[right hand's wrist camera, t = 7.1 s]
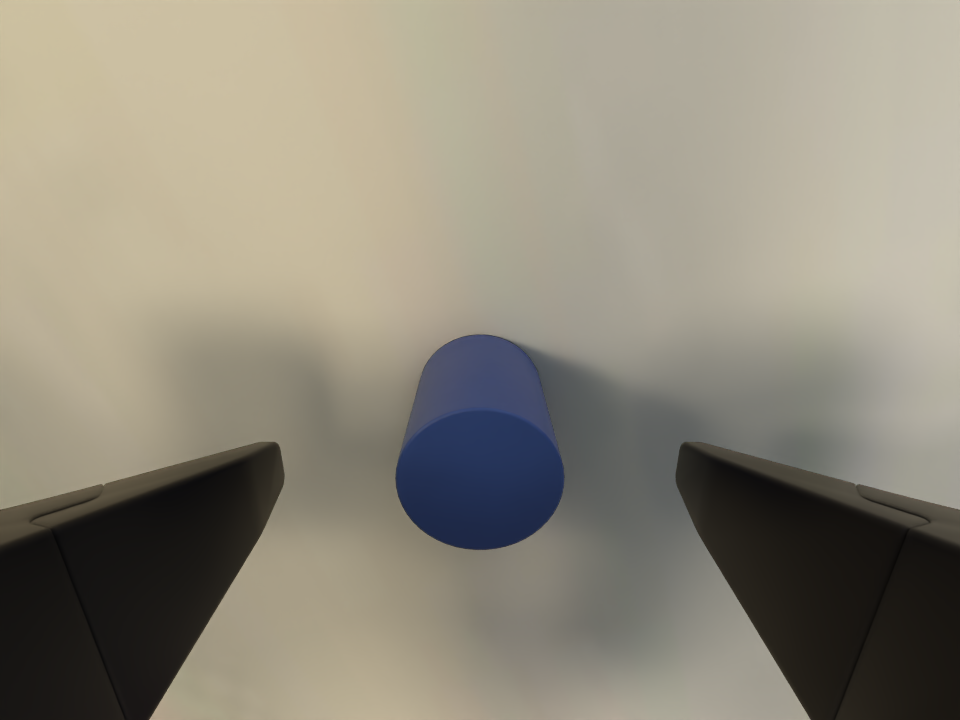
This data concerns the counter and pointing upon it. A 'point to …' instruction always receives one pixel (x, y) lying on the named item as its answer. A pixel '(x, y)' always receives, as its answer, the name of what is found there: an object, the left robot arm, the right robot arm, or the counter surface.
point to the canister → (479, 447)
